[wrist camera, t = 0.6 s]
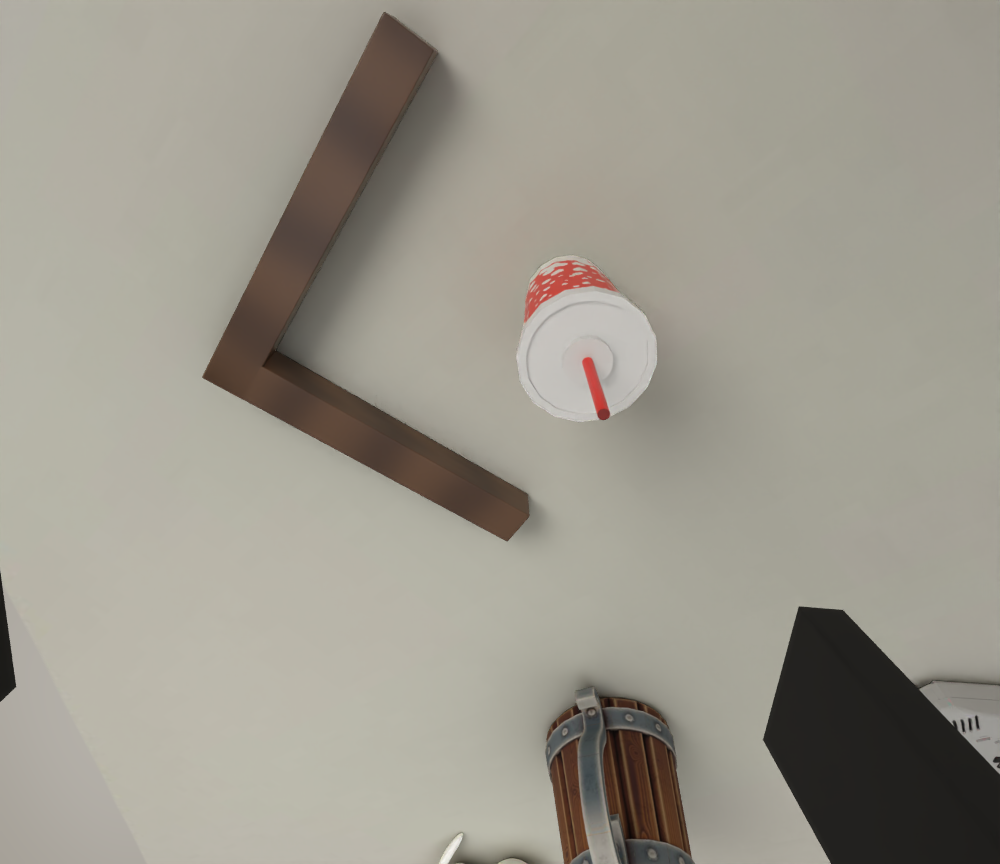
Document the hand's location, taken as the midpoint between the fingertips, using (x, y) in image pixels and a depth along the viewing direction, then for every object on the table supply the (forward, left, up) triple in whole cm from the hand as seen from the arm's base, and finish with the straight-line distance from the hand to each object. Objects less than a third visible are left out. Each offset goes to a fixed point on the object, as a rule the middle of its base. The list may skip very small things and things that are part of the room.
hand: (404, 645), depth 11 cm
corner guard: (+8, +1, -27) cm, 28 cm away
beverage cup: (-3, +5, -27) cm, 28 cm away
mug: (+11, +38, -27) cm, 48 cm away
